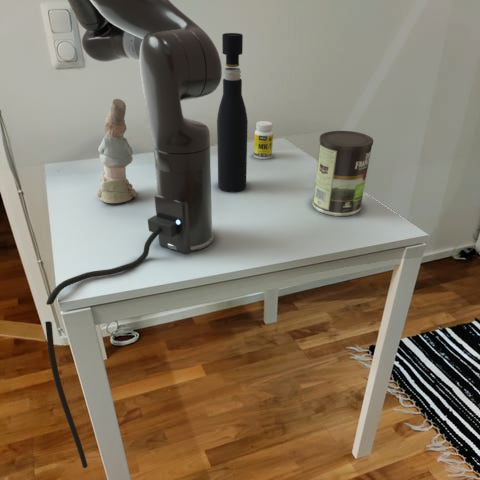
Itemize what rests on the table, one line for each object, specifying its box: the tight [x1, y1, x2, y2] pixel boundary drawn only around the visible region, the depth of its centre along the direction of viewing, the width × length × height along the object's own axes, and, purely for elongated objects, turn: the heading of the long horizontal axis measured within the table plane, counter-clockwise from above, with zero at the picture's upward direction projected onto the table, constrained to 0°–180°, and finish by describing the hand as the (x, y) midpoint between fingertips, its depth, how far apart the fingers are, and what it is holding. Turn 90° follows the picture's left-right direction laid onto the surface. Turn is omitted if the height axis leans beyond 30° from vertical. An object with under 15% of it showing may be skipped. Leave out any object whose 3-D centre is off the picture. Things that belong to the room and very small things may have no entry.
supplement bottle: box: [253, 120, 274, 160], centre depth 121 cm, size 5×5×8 cm
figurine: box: [97, 98, 138, 204], centre depth 96 cm, size 9×8×20 cm
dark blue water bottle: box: [216, 32, 249, 193], centre depth 98 cm, size 6×6×30 cm
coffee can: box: [311, 130, 374, 217], centre depth 95 cm, size 10×10×14 cm
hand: (197, 52), depth 96 cm, fingers open, 8 cm apart
